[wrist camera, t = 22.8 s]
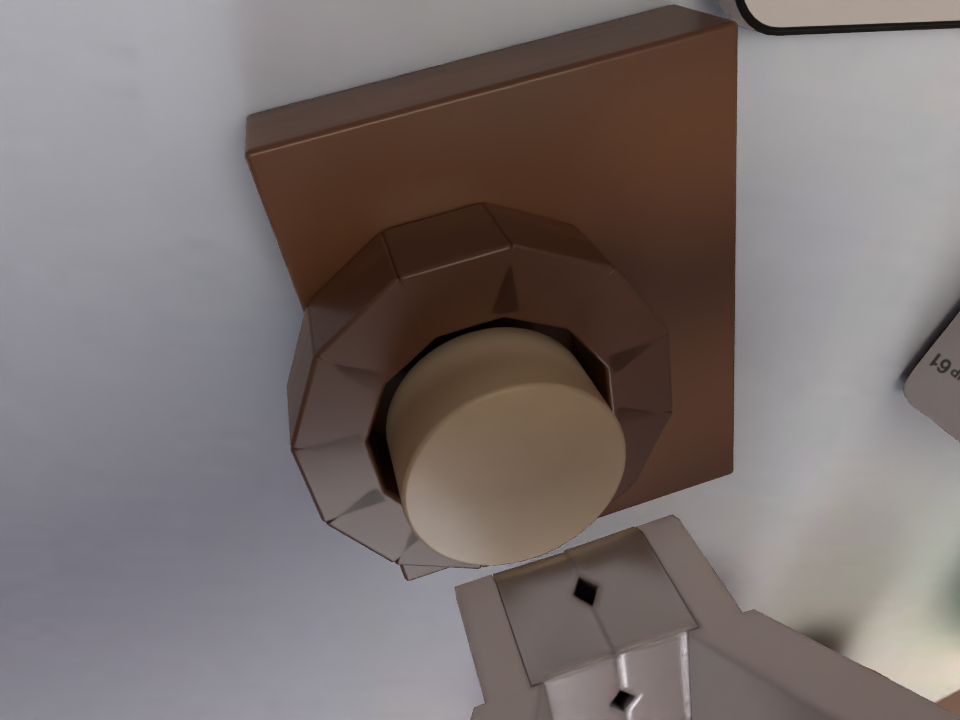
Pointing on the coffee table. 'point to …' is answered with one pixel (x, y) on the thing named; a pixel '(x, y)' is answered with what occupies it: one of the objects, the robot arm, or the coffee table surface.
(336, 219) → the doorbell
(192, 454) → the coffee table surface
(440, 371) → the bell button
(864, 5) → the smartphone
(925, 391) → the ink box
